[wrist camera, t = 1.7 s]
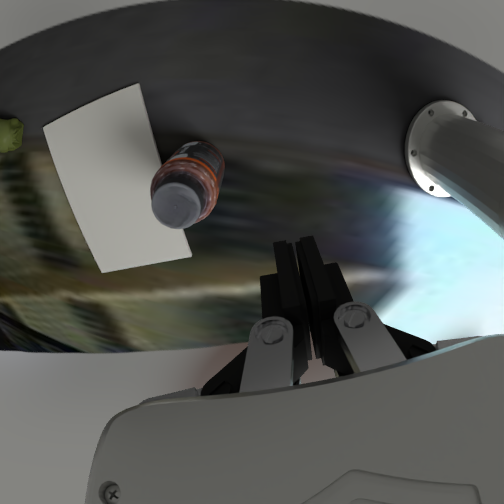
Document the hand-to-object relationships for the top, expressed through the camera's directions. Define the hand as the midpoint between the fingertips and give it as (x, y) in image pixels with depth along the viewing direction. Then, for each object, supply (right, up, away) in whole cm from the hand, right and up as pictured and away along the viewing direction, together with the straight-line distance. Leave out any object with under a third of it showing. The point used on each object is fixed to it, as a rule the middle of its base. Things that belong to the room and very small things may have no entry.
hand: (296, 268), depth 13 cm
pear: (-36, +17, +15) cm, 42 cm away
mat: (-19, +8, +20) cm, 29 cm away
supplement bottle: (-8, +10, +19) cm, 23 cm away
